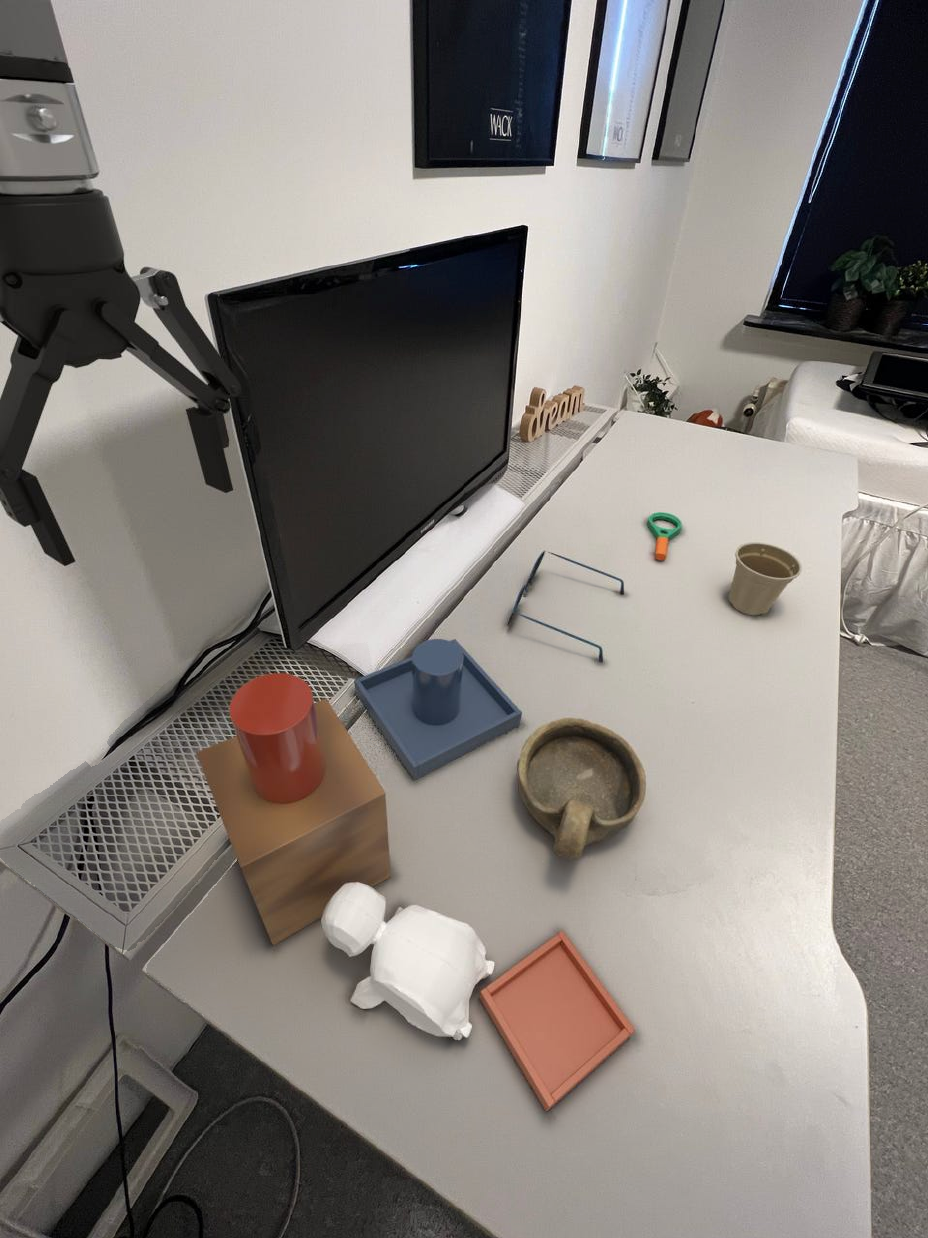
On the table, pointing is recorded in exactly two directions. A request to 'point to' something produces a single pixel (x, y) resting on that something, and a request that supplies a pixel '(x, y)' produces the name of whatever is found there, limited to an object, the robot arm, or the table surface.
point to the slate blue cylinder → (436, 681)
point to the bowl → (580, 783)
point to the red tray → (555, 1018)
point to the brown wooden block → (303, 829)
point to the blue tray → (435, 744)
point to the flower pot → (761, 576)
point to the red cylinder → (279, 736)
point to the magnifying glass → (663, 532)
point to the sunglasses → (547, 624)
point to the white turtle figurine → (409, 959)
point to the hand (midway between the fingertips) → (147, 519)
